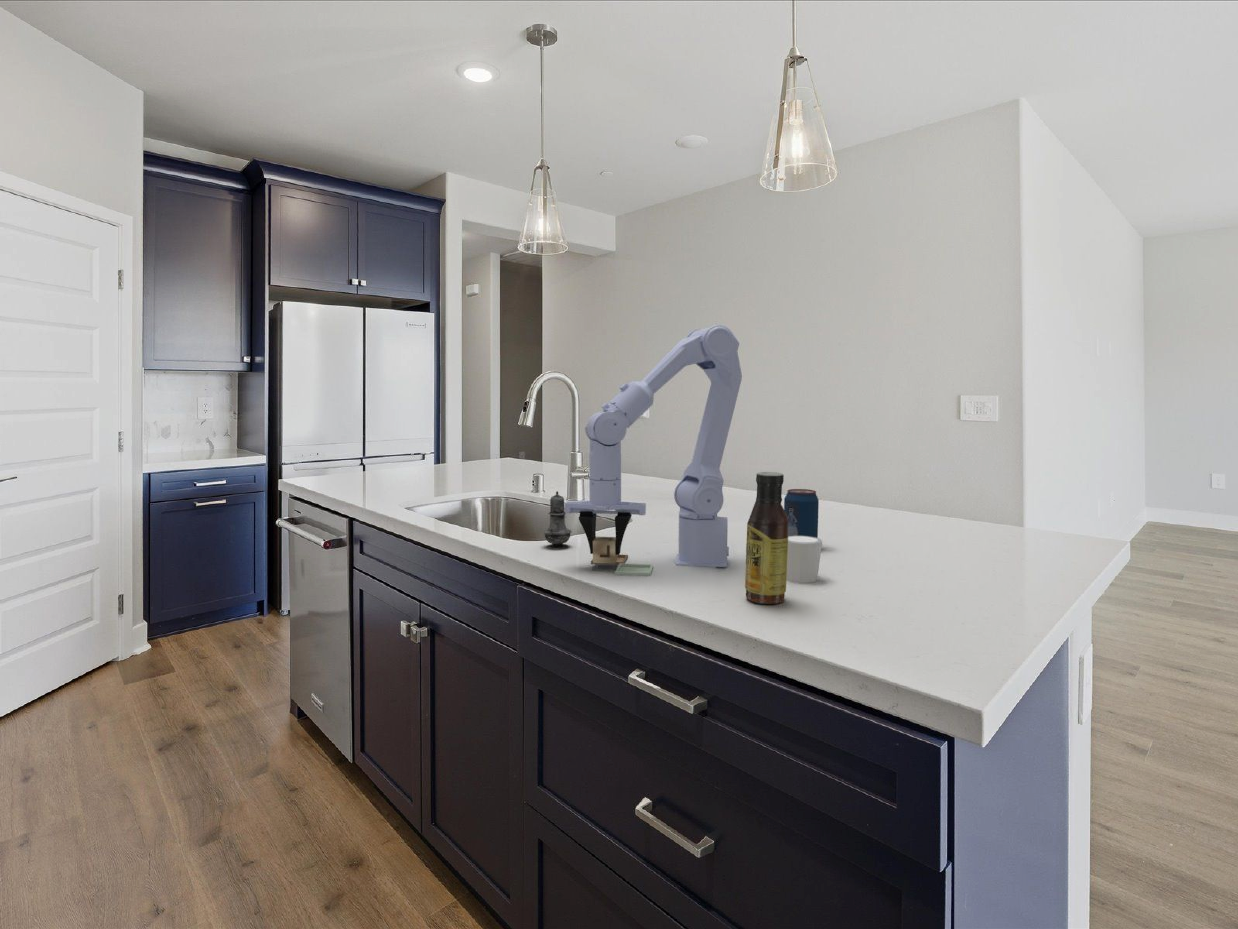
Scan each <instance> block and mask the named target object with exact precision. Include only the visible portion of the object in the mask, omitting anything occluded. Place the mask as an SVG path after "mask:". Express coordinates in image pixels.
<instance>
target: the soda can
mask: <svg viewBox="0 0 1238 929" xmlns="http://www.w3.org/2000/svg"><path fill="white" fill-rule="evenodd" d="M786 492H787V493H786V495H785V497H784V499H783V500H784V501H783V502H784V503H783V508H784V510H785V512H786V514H787V517H788V536H810V537H816V538H819V537H818V536H819V505H820V504H819V503H820V502H819V498H818V496H817V491H816V490H813V489H809V488H808V489H806V488H792V489H788V490H787V491H786Z"/></svg>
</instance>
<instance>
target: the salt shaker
mask: <svg viewBox="0 0 1238 929" xmlns="http://www.w3.org/2000/svg"><path fill="white" fill-rule="evenodd" d="M549 508H550V512H548V515H549V525H548V526H549V527H548V528H547V529H544V530H543V531H542V533H543V534H544V537H545V538H544V539H545V540H546V541H547V543H549V544H548V545H547V546H546V549H549V550H566V549H568V548H569V545H568V544H566V543H567V542H568V541H569V540H570V537H571V534H572V530H571V529H569V528H567V527H566V522H565V521H566V520H565V519H566V518H565V516H566V514H567V513H565V498H564V496H561V495H560V494H559V491H556V492H555V494H554V495H553V496H551V498H550V500H549Z"/></svg>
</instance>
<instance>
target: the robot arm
mask: <svg viewBox="0 0 1238 929" xmlns="http://www.w3.org/2000/svg"><path fill="white" fill-rule="evenodd" d="M739 347H740V342H739V341H738V339H737V338H736V335H734V333H733V331H731V329H730V328H728V327H727V326H726V325H723V324H722V325H721V324H716V325H712V326H711V327H707V328H703V329H702V328H701V329H700V328H699V329H695V330H692V331H691V332H689V333H688V334H687V336H686V337H683V339H680V340H679V341H678V342H677V343H676V344H675V346H673V347H672V349H670V351H668V353H667V354H666V355H665V356H664V357H663V358H662V359H661V360H660V361H659V362H658V363H657V364H656V365H655V366H654V367H653V368H652V369H651V370H650V372H649V373H647V375H646V376H645V377H644V378H643V379H642V380H641V381H635V380H634V381H630V382H629V383H623V384H622V385H620V387H619V390H620V391H619V393H618V394H616V396H614V397H613V398H612V399H611V400H610V401H609V402H608V403H607V402H604V403H603V404H602V405H601V408H602V411H599V412H595V413H594V414H593V415H591V416H590V417H589V419H588V420H587V424H586V426H585V427H584V431H585V432H584V433H585V434H586V437H587V438H588V439H589V453H588V458H589V460H588V462H589V471H588V473H589V475H588V476H589V477H588V478H589V481H588V482H589V483H588V484H589V485H588V486H589V495H588V496H589V500H582V501H581V500H580V501H576V500H575V501H572V500H571V501H568V500H567V501H566V502H564V512H565V513H566V514H579V517H578V521H579V523H580V525H581V527H582V528H583V531H584V534H585V535H586V539H587V543H588V548H589V552H590V554H591V555H593V540H594V539H595V538H596V537H597V535H596V532H597V531H596V530H597V528H596V527H597V515H598V514H603V515H604V514H605V515H608V514H609V515H615V517H614V524H615V525H614V526H615V527H614V528H615V537H616V541H615V552H616V555H619V554H621V549H622V543H623V541H624V540H623V538H624V536H625V533H626V531H627V527H628V525H629V522H630V520H631V518H632V515H638V516H645V515H646V513H647V512H646V510H647V507H646V506H647V504H646V503H645V502H630V501H622V450H621V449H622V446H621V444H622V443H621V442H622V441H623V440H624V439H625V437H626V434H627V430H628V429H629V428H630V427H631V426H632V425H633V424H635V422H636V421H638V420H639V418H641V416H642V415H643V414H645V413H646V412H647V411H648V410H649V409H650V407H651V408H652V406H653V405H654V397H655V396H654V395H655V393H658V391H659V390H661V389H662V387H664V386H665V385H666V384H667V383H668V382H669V381H670V380H672V378H674V377H675V376H676V375H677V374H679V373H680V372H681V371H682V370H683V369H684V368H685V367H687V366H692V365H696V366H697V367H699V368H700V369H701V370H703V371H704V374H705V375H706V377H707V378H708V379H709V381H710V385H709V386H710V388H709V390H708V395H707V398H706V403H705V406H704V410H703V415H702V419H701V424H700V428H699V432H698V435H697V439H696V444H695V447H694V451H693V456H692V460H691V462H690V464H689V465H688V466H687V467H686V468H685V469H684V471H683V474H682V478H681V479H680V481H679V482H678V484H676V486H675V488H674V492H673V498H674V502H675V504H676V505H677V506H678V508H679V511H678V551H677V552H678V553H677V554H676V559H675V563H674V564H675V566H683V567H684V566H685V567H710V568H711V567H713V568H714V567H715V568H727V567H728V557H729V555H730V546H728V534H729V533H728V523H729V522H728V517H726V516H718V514H719V512H720V511H721V510H722V509H723V505H724V493H723V486H724V483H725V482H724V477H723V475H722V473H721V470H720V468H721V463H722V459H723V457H724V452H725V447H726V444H727V441H728V436H729V431H730V429H731V424H732V419H733V416H734V412H735V408H736V404H737V400H738V396H739V392H740V388H741V383H742V378H743V375H742V369H741V364H740V359H739V353H738V351H739Z"/></svg>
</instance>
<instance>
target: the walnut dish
mask: <svg viewBox="0 0 1238 929" xmlns="http://www.w3.org/2000/svg"><path fill="white" fill-rule="evenodd" d="M628 558H629V554H621V553H620V554H619V555H618V559H617V561H616V563H615V564H614V565H619V563H623V564H626V562H627V560H628ZM595 564H609V563H593V558H592V559H591V560H590V565H595Z"/></svg>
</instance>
